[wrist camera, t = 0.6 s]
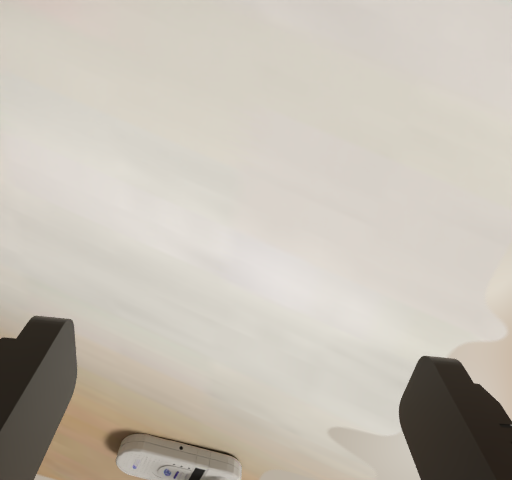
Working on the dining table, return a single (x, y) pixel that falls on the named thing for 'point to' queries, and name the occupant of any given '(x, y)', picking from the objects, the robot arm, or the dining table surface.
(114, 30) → the dining table surface
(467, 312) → the dining table surface
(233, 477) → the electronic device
